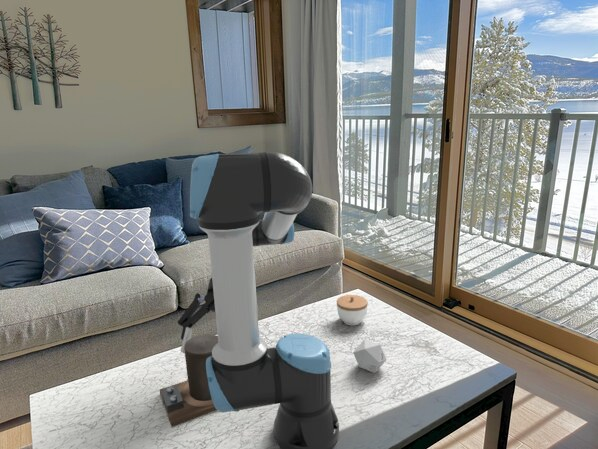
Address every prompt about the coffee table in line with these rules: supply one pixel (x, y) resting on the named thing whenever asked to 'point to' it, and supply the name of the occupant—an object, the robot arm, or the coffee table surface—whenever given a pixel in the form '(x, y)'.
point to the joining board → (188, 406)
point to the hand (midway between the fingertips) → (207, 354)
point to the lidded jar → (352, 309)
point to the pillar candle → (199, 364)
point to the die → (369, 356)
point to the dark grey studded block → (172, 399)
